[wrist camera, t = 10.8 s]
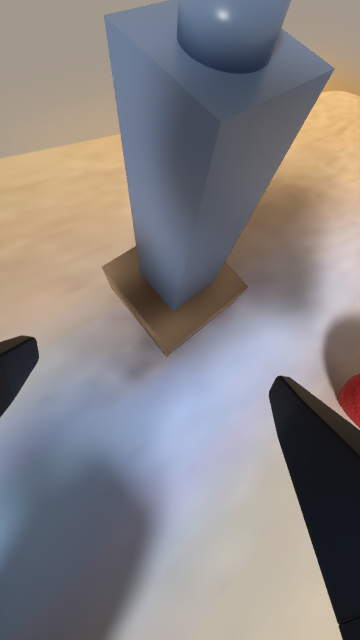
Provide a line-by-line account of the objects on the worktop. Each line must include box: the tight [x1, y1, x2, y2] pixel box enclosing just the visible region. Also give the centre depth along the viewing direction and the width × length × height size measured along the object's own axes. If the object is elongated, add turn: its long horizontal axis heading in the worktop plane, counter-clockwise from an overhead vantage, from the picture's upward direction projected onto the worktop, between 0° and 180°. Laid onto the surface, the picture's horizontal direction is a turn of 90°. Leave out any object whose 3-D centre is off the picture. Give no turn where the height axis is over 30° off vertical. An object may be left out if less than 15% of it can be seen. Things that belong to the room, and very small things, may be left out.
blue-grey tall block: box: [104, 0, 334, 312], centre depth 11 cm, size 4×4×14 cm
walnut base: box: [102, 247, 248, 356], centre depth 20 cm, size 9×9×4 cm
